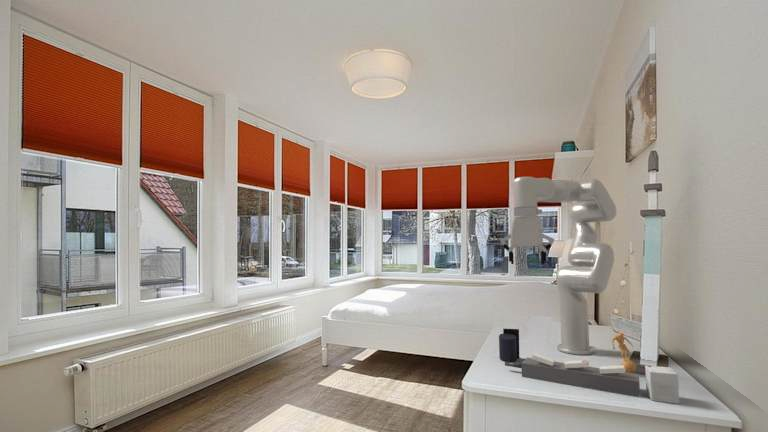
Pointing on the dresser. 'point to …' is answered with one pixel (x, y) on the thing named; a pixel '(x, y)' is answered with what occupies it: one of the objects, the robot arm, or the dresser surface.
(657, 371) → the skincare box
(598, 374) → the power strip
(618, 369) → the block
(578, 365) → the block
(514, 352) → the speaker
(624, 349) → the figurine
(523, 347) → the dresser surface
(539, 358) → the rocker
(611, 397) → the dresser surface
